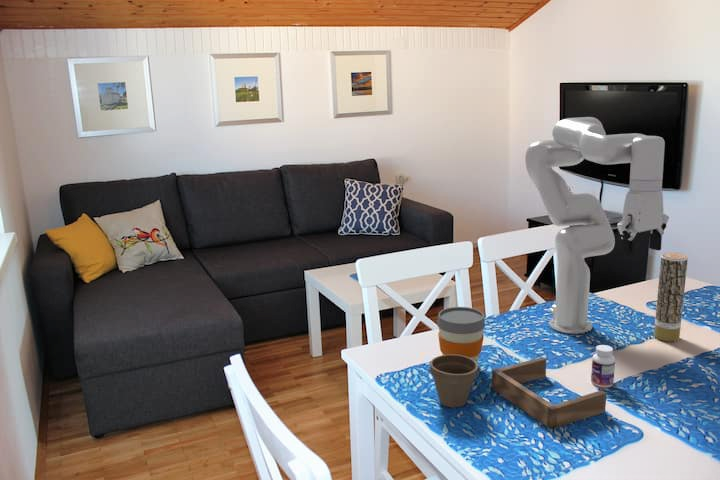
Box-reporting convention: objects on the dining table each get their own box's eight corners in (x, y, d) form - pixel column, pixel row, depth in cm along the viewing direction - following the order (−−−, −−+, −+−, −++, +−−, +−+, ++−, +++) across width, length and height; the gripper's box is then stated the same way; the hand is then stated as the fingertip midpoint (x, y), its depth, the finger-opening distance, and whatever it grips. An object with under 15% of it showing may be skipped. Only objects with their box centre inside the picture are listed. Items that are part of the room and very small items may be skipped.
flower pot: (481, 393, 164) (481, 356, 161) (473, 416, 154) (474, 377, 151) (435, 387, 168) (435, 351, 165) (425, 409, 157) (425, 370, 155)
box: (491, 388, 166) (492, 370, 165) (541, 374, 173) (542, 356, 172) (551, 429, 147) (552, 409, 146) (605, 412, 154) (606, 392, 152)
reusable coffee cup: (427, 368, 178) (427, 316, 175) (454, 352, 187) (455, 303, 183) (466, 382, 170) (467, 327, 166) (493, 365, 179) (494, 313, 175)
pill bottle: (587, 379, 170) (589, 344, 167) (607, 377, 170) (610, 342, 168) (596, 389, 165) (598, 353, 162) (617, 387, 165) (620, 351, 162)
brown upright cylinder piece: (681, 343, 189) (690, 259, 183) (656, 341, 190) (664, 259, 184) (675, 333, 196) (684, 252, 189) (651, 332, 197) (658, 252, 190)
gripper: (656, 181, 172) (652, 244, 176) (608, 187, 165) (605, 254, 169) (682, 184, 166) (677, 250, 170) (633, 191, 158) (629, 260, 162)
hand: (641, 252), depth 169 cm, fingers open, 9 cm apart
